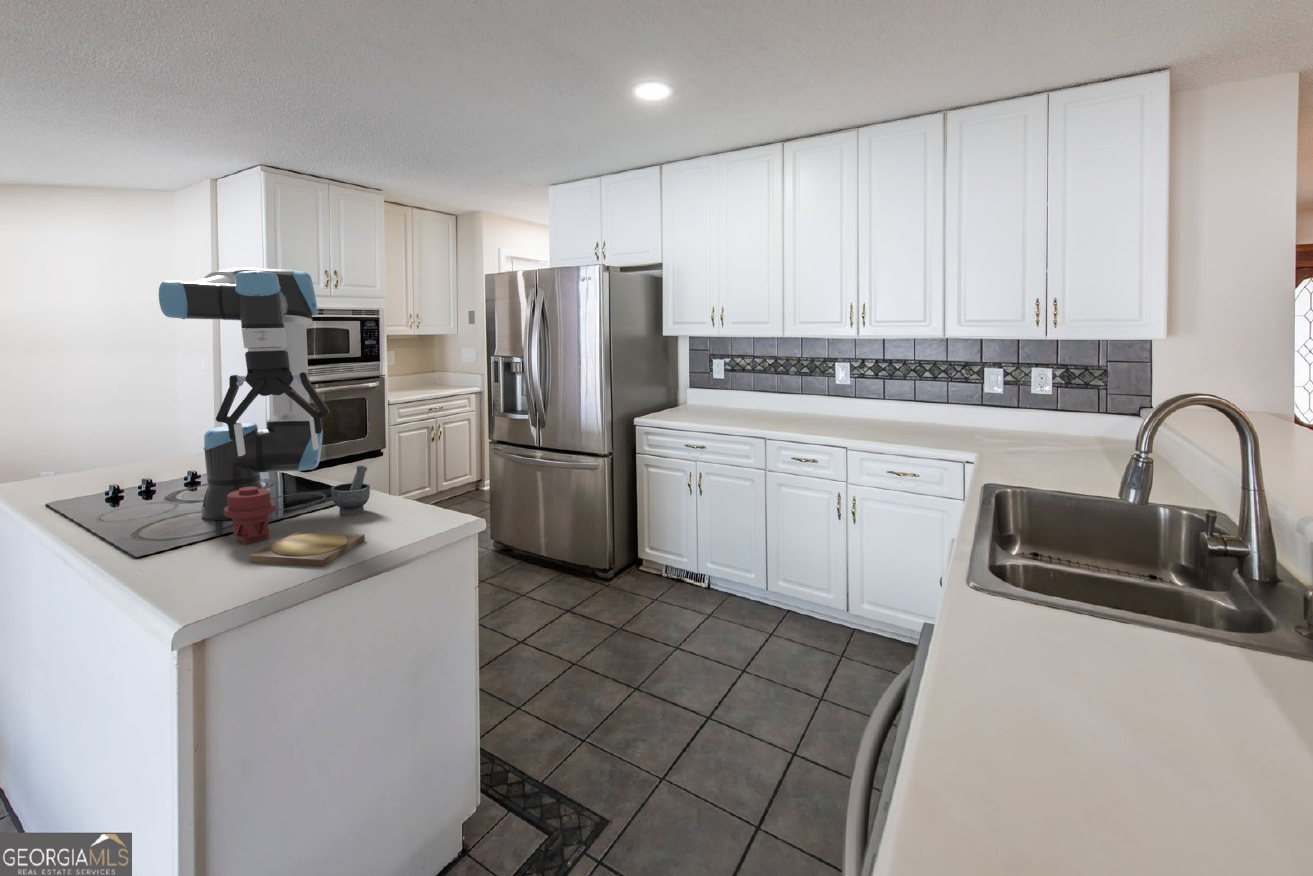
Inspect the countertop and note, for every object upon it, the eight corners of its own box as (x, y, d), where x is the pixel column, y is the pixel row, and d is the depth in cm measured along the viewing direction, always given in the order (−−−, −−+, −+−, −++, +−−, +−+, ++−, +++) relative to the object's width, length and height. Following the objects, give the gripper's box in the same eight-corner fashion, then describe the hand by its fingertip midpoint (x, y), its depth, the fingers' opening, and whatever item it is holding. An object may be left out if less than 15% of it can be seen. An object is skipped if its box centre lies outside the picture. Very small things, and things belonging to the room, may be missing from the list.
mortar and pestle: (355, 518, 166) (353, 474, 164) (323, 515, 168) (321, 471, 166) (381, 507, 177) (380, 465, 175) (351, 504, 179) (350, 462, 177)
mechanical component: (242, 550, 141) (217, 541, 146) (286, 538, 150) (261, 530, 154) (238, 496, 139) (212, 489, 144) (283, 487, 148) (257, 481, 152)
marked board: (299, 536, 151) (299, 529, 151) (364, 540, 150) (364, 533, 150) (249, 562, 134) (249, 553, 134) (322, 566, 134) (322, 558, 133)
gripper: (187, 352, 121) (203, 461, 125) (332, 347, 130) (343, 449, 134) (199, 351, 128) (214, 454, 132) (336, 347, 137) (346, 443, 140)
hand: (279, 452), depth 133 cm, fingers open, 13 cm apart
